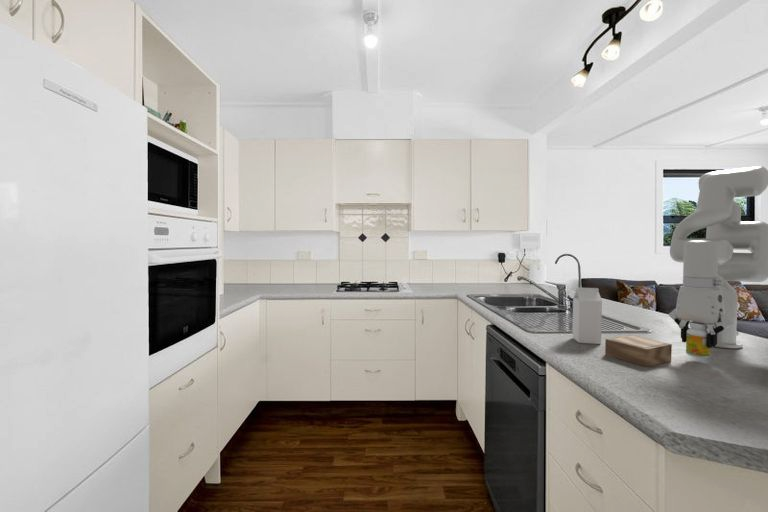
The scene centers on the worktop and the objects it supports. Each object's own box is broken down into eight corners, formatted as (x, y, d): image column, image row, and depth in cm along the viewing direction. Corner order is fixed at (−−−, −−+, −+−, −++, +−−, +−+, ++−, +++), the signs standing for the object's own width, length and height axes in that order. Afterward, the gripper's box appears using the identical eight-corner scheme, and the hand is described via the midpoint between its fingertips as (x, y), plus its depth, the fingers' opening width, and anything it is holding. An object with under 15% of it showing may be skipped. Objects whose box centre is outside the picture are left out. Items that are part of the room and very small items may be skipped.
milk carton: (601, 344, 124) (602, 289, 123) (578, 343, 126) (579, 288, 125) (593, 339, 131) (594, 287, 130) (572, 338, 133) (573, 286, 132)
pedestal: (629, 350, 118) (629, 334, 118) (671, 361, 107) (671, 344, 107) (605, 354, 113) (605, 338, 113) (646, 366, 102) (647, 349, 102)
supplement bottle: (681, 352, 108) (681, 321, 108) (697, 351, 109) (698, 320, 108) (698, 359, 103) (698, 325, 103) (715, 358, 104) (716, 324, 103)
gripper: (745, 285, 98) (743, 350, 100) (673, 278, 114) (672, 335, 115) (731, 287, 95) (729, 355, 96) (659, 280, 111) (658, 338, 112)
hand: (698, 343), depth 106 cm, fingers closed on supplement bottle, 5 cm apart
